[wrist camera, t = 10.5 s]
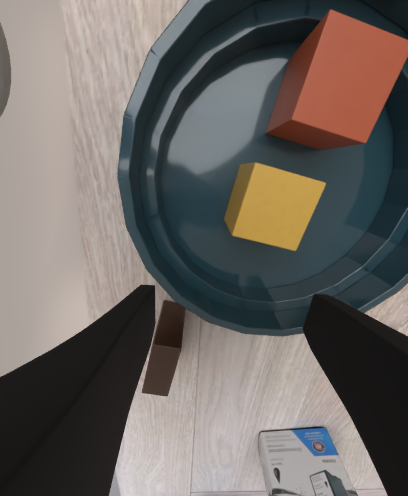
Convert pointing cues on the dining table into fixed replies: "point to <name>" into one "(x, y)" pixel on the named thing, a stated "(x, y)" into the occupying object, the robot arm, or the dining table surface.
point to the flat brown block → (165, 350)
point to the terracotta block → (337, 83)
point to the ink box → (302, 464)
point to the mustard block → (271, 205)
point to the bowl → (264, 152)
